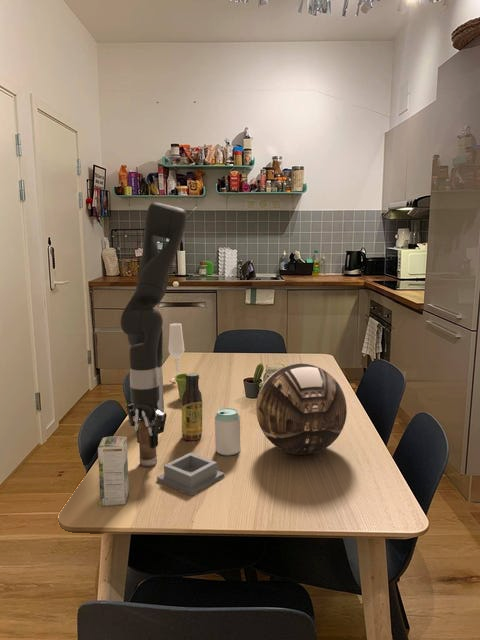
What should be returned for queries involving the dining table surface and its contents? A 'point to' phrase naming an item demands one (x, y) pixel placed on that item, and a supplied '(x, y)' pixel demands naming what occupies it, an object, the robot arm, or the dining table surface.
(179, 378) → the plant pot
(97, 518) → the dining table surface
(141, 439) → the handle
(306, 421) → the sphere
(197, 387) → the sauce bottle
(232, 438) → the can
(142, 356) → the robot arm
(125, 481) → the syrup box
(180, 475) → the holder
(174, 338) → the champagne flute
